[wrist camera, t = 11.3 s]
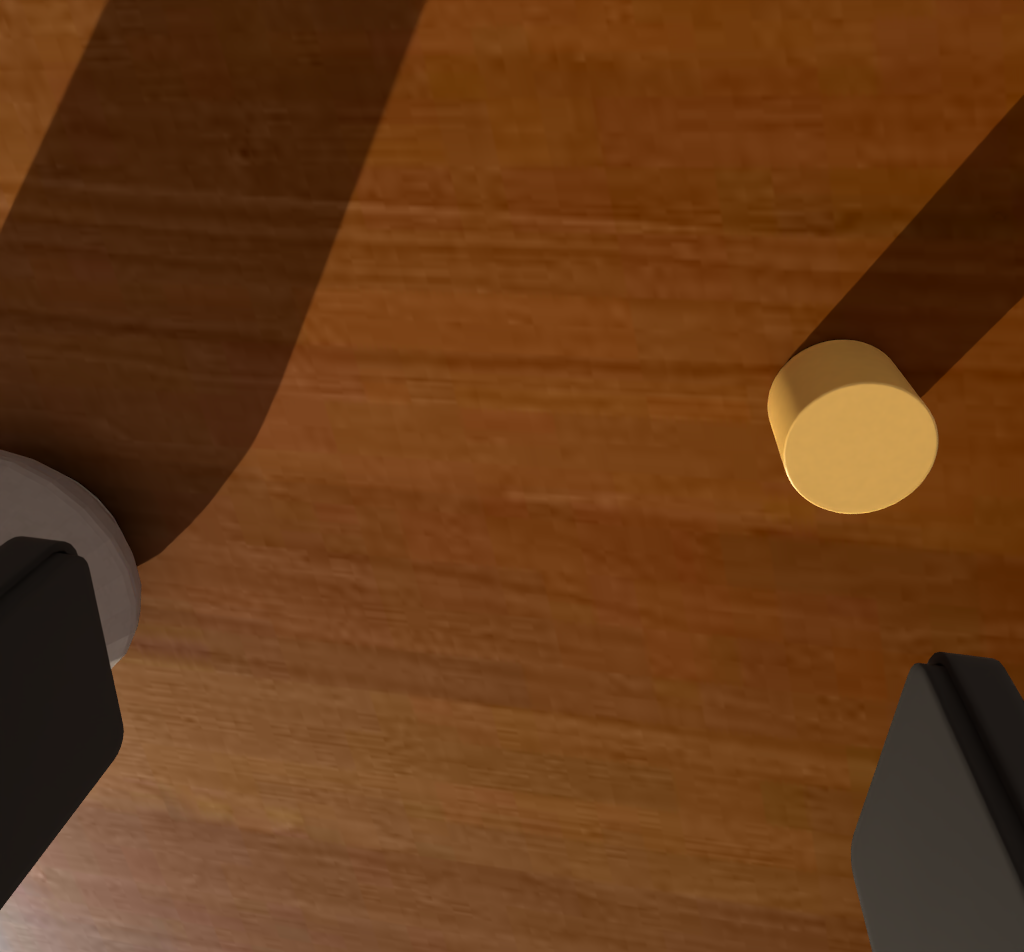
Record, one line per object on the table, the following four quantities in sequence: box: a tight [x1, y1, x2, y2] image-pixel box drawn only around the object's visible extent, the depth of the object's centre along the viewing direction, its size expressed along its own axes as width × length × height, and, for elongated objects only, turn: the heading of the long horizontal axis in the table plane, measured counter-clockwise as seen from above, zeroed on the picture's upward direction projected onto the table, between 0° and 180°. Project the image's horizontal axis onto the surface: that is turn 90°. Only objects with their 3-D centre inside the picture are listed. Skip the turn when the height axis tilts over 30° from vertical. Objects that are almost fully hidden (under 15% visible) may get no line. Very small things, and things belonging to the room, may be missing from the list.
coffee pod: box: [768, 340, 938, 514], centre depth 27 cm, size 4×4×4 cm
